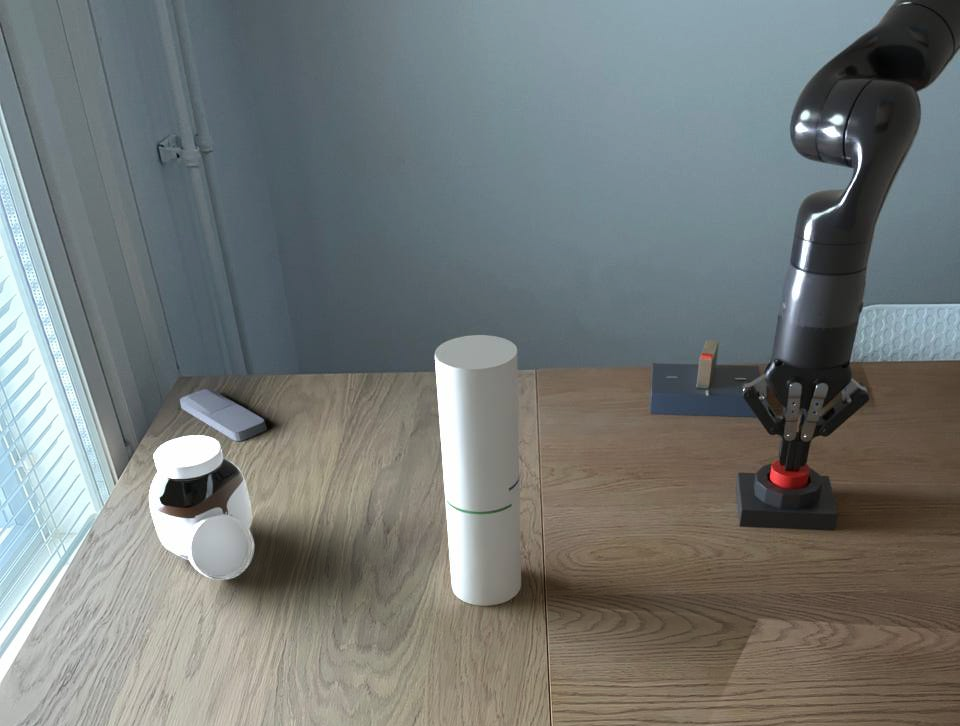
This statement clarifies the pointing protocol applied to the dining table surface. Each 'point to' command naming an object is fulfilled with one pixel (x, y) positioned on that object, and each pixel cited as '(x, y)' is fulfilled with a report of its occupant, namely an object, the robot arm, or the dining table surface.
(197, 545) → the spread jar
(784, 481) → the button
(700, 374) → the beige rectangular block
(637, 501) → the dining table surface
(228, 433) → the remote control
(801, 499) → the button box
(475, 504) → the cylindrical container
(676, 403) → the switch panel
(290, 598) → the dining table surface
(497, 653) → the dining table surface
